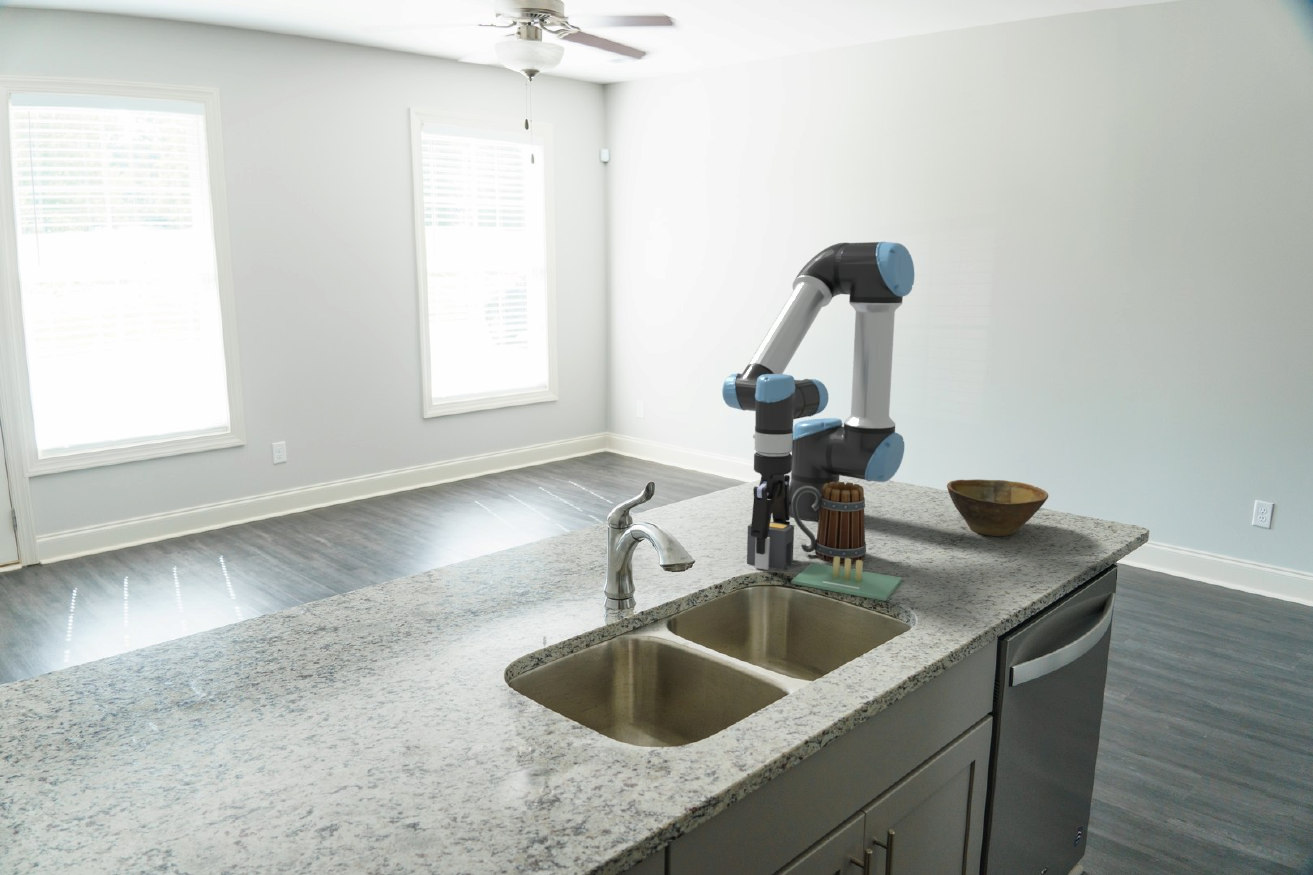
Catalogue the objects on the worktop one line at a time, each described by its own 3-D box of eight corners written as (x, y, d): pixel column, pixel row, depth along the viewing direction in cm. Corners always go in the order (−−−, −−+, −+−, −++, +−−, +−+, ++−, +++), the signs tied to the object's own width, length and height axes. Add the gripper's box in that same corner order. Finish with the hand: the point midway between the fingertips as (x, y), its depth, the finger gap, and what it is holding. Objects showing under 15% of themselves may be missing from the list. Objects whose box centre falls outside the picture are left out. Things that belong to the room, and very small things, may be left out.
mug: (861, 548, 190) (864, 480, 187) (869, 564, 179) (873, 493, 177) (788, 546, 191) (790, 479, 188) (792, 562, 180) (794, 491, 178)
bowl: (1053, 526, 207) (1056, 484, 205) (1035, 552, 188) (1039, 506, 186) (957, 512, 218) (960, 472, 217) (931, 535, 200) (934, 492, 198)
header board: (812, 565, 179) (813, 543, 178) (901, 580, 170) (903, 557, 169) (791, 583, 169) (792, 560, 168) (885, 600, 160) (886, 576, 159)
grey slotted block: (756, 556, 184) (757, 518, 183) (792, 563, 180) (794, 524, 179) (746, 563, 180) (747, 524, 178) (783, 570, 176) (785, 530, 175)
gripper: (774, 442, 186) (771, 546, 191) (734, 459, 169) (731, 573, 173) (808, 445, 183) (804, 551, 187) (771, 464, 165) (767, 580, 169)
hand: (769, 562), depth 180 cm, fingers open, 8 cm apart
